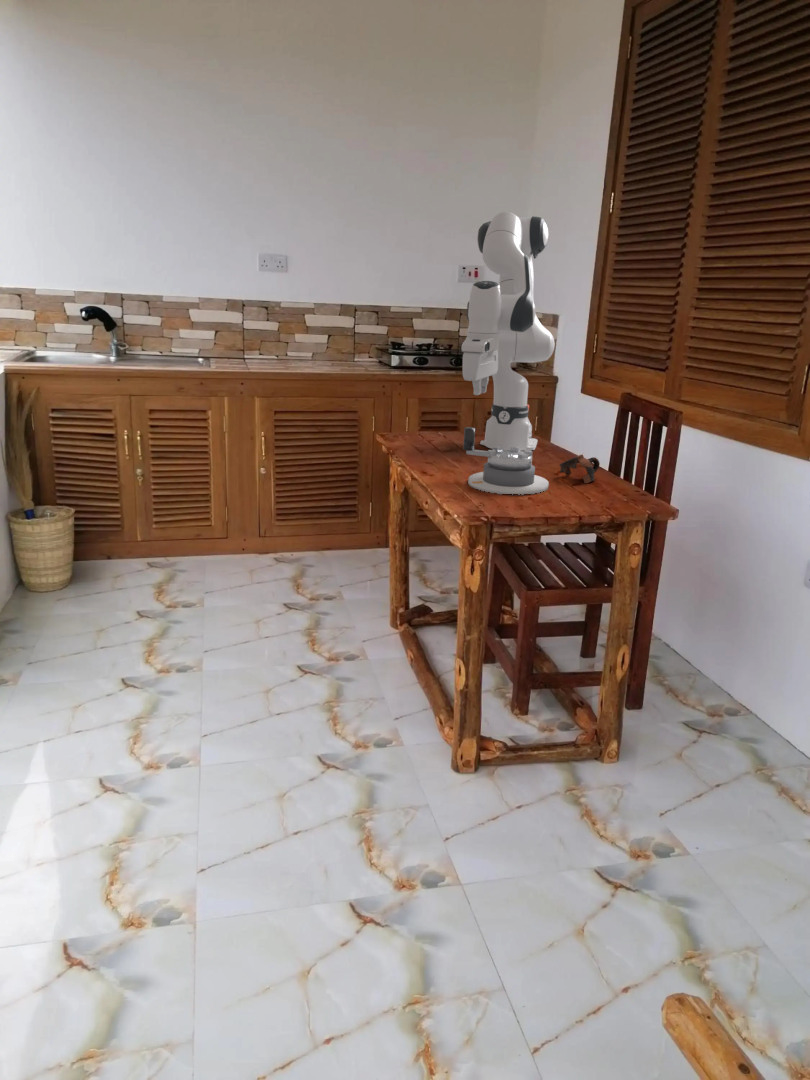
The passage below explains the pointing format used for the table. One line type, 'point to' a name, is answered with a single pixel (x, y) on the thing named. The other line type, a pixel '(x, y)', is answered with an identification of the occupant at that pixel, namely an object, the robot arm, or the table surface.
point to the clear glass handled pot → (499, 454)
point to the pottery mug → (584, 463)
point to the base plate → (508, 490)
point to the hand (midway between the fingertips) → (479, 393)
